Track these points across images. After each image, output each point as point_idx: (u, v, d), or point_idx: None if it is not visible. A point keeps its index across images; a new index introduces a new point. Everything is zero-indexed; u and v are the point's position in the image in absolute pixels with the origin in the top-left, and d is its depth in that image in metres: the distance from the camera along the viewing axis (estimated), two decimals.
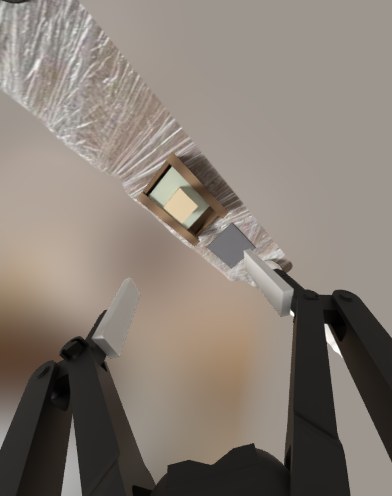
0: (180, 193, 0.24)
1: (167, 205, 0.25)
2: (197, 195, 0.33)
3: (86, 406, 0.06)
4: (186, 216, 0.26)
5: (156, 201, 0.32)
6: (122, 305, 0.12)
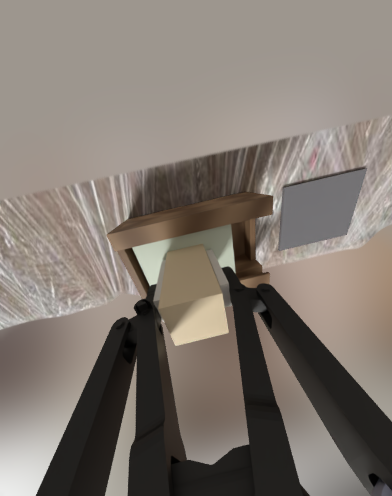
0: (170, 312, 0.10)
1: (176, 339, 0.11)
2: (199, 232, 0.16)
3: (145, 359, 0.08)
4: (222, 321, 0.11)
5: None
6: None
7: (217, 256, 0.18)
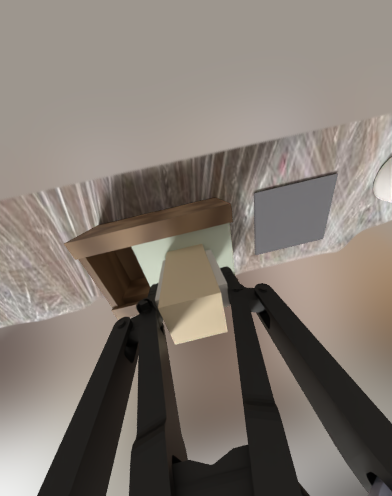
0: (169, 312, 0.10)
1: (176, 338, 0.11)
2: (198, 232, 0.17)
3: (147, 358, 0.08)
4: (221, 319, 0.11)
5: None
6: None
7: (216, 256, 0.18)
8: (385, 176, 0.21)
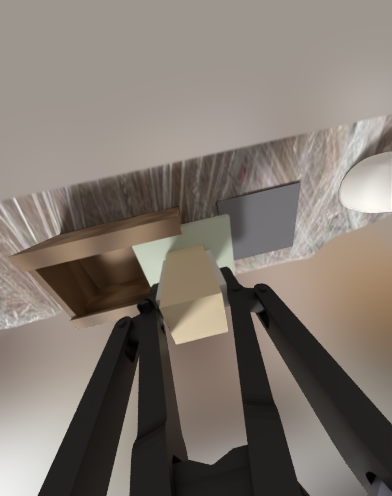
0: (170, 312, 0.10)
1: (177, 338, 0.11)
2: (199, 233, 0.17)
3: (148, 358, 0.08)
4: (222, 319, 0.11)
5: None
6: None
7: (216, 256, 0.18)
8: (347, 185, 0.21)
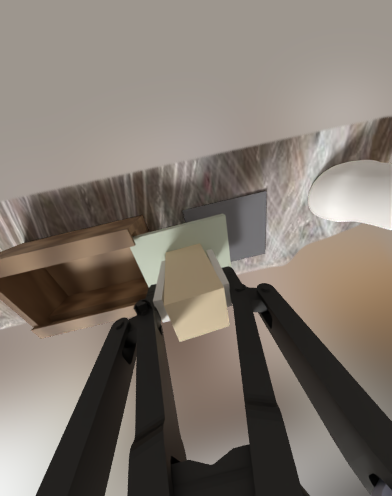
0: (175, 308, 0.10)
1: (180, 335, 0.11)
2: (196, 232, 0.17)
3: (145, 359, 0.08)
4: (224, 314, 0.11)
5: None
6: None
7: None
8: (314, 194, 0.21)
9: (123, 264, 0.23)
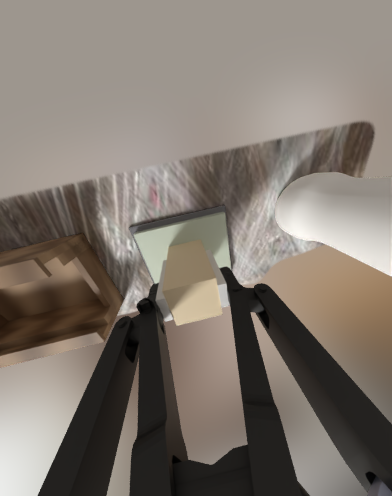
0: (172, 294, 0.11)
1: (177, 319, 0.13)
2: (197, 229, 0.18)
3: (148, 358, 0.08)
4: (216, 303, 0.13)
5: None
6: None
7: (214, 251, 0.20)
8: (279, 209, 0.18)
9: (67, 287, 0.20)
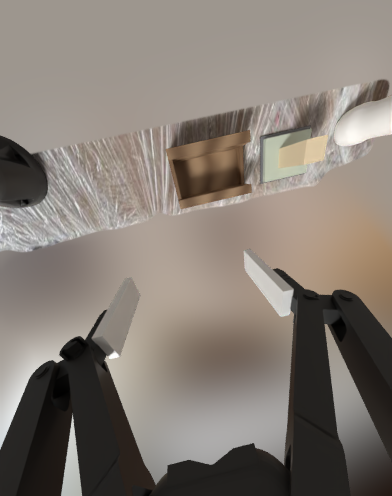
0: (309, 142, 0.28)
1: (305, 160, 0.30)
2: (296, 137, 0.35)
3: (86, 406, 0.06)
4: (323, 151, 0.29)
5: (271, 176, 0.38)
6: (122, 305, 0.13)
7: None
8: (338, 127, 0.35)
9: (219, 174, 0.37)
